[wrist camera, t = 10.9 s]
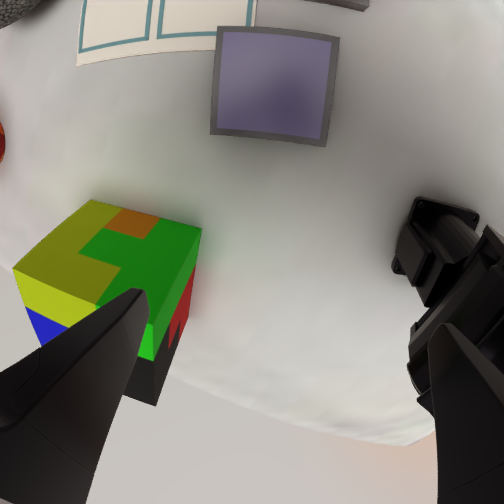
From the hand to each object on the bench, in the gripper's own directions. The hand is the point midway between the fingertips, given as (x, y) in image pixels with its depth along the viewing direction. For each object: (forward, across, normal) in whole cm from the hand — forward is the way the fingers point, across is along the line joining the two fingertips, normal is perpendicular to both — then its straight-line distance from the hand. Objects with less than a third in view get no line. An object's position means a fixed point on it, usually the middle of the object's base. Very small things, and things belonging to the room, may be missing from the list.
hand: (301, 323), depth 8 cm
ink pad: (+13, +2, -6) cm, 14 cm away
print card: (+13, +10, -12) cm, 20 cm away
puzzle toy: (+13, +12, +9) cm, 20 cm away
